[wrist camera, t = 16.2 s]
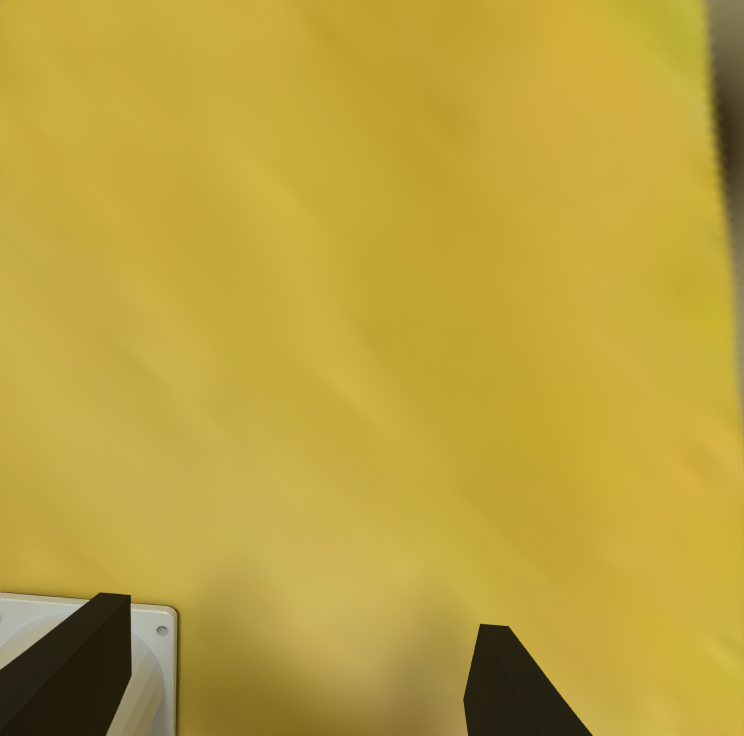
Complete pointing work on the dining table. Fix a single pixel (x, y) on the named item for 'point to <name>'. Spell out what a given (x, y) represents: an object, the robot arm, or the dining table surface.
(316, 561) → the dining table surface
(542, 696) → the robot arm
